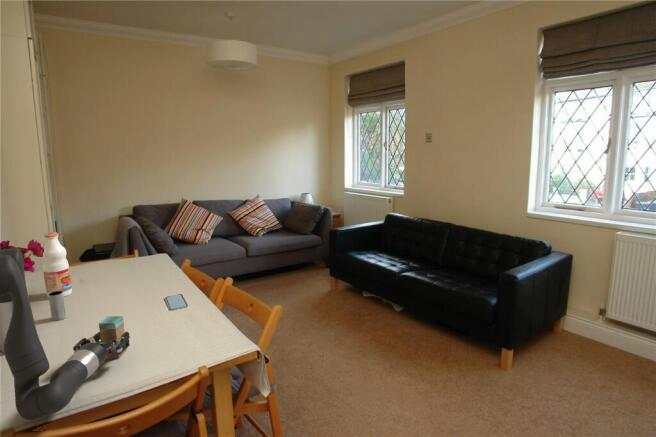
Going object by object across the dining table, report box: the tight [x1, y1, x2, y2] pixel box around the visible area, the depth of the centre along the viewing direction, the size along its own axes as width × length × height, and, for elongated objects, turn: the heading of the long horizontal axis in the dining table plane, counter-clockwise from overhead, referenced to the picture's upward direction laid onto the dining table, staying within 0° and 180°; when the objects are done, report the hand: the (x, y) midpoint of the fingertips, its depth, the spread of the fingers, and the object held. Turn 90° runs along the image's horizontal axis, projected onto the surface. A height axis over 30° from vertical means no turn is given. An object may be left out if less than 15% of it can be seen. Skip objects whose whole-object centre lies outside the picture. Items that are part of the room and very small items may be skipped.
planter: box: [48, 291, 67, 322], centre depth 152 cm, size 4×4×10 cm
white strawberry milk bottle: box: [41, 231, 73, 299], centre depth 174 cm, size 9×9×28 cm
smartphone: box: [164, 293, 189, 312], centre depth 168 cm, size 7×1×15 cm
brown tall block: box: [98, 315, 128, 360], centre depth 126 cm, size 5×5×12 cm
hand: (114, 334), depth 127 cm, fingers open, 8 cm apart
